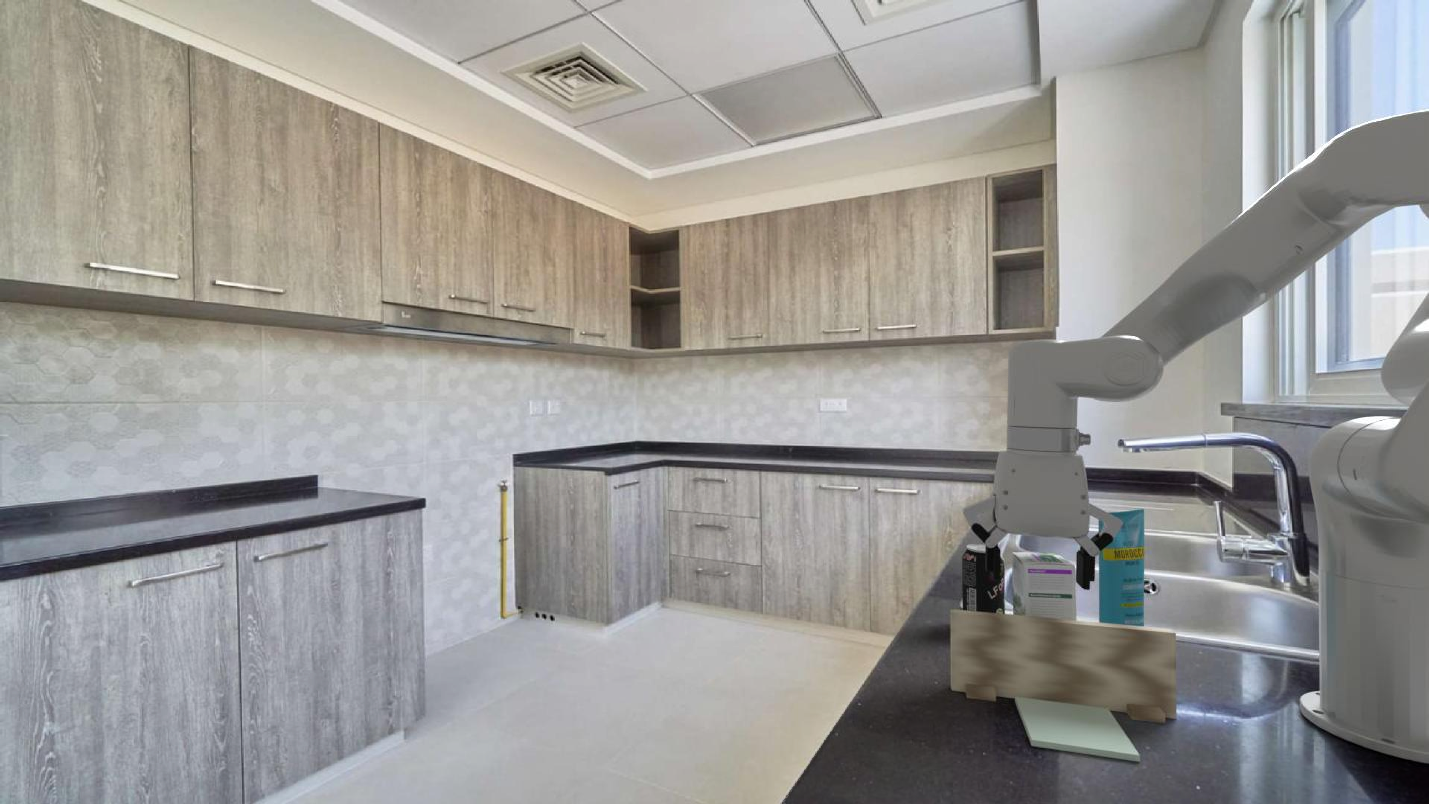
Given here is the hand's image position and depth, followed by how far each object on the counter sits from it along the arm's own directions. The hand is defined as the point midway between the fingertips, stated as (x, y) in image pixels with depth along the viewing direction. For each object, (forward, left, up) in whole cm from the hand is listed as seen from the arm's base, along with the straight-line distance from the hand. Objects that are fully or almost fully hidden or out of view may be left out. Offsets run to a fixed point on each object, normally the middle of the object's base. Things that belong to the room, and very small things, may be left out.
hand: (1037, 582), depth 74 cm
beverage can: (+4, -15, -12) cm, 19 cm away
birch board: (-1, +7, -11) cm, 13 cm away
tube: (-12, -9, -12) cm, 19 cm away
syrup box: (-1, 0, -12) cm, 12 cm away
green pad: (-1, +13, -11) cm, 17 cm away
